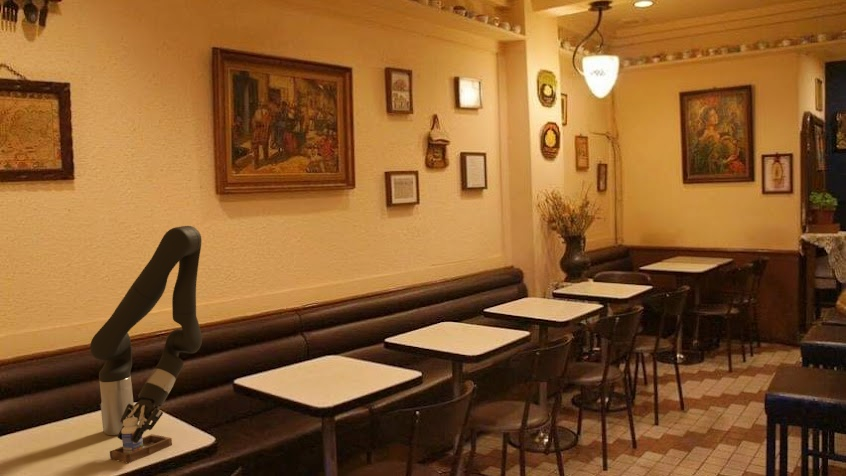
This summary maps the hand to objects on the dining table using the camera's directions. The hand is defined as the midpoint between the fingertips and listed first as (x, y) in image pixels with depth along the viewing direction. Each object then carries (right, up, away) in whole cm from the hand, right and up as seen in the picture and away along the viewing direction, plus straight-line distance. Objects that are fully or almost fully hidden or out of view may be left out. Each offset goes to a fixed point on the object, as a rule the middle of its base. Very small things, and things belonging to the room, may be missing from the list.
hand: (126, 440), depth 201 cm
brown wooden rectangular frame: (+3, -5, +4) cm, 7 cm away
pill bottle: (+1, -4, +2) cm, 5 cm away
